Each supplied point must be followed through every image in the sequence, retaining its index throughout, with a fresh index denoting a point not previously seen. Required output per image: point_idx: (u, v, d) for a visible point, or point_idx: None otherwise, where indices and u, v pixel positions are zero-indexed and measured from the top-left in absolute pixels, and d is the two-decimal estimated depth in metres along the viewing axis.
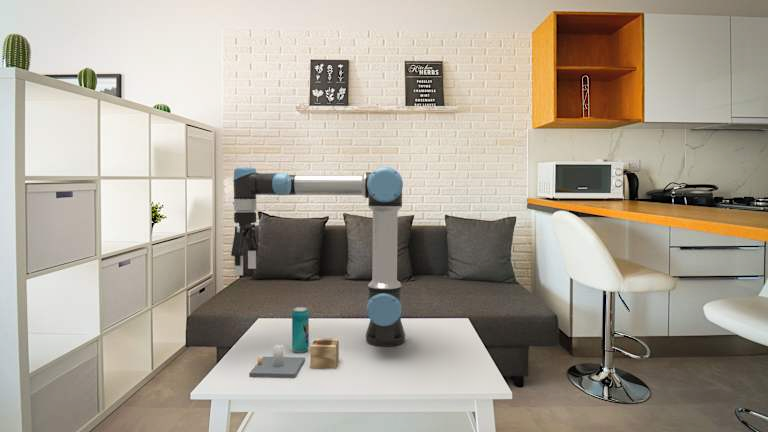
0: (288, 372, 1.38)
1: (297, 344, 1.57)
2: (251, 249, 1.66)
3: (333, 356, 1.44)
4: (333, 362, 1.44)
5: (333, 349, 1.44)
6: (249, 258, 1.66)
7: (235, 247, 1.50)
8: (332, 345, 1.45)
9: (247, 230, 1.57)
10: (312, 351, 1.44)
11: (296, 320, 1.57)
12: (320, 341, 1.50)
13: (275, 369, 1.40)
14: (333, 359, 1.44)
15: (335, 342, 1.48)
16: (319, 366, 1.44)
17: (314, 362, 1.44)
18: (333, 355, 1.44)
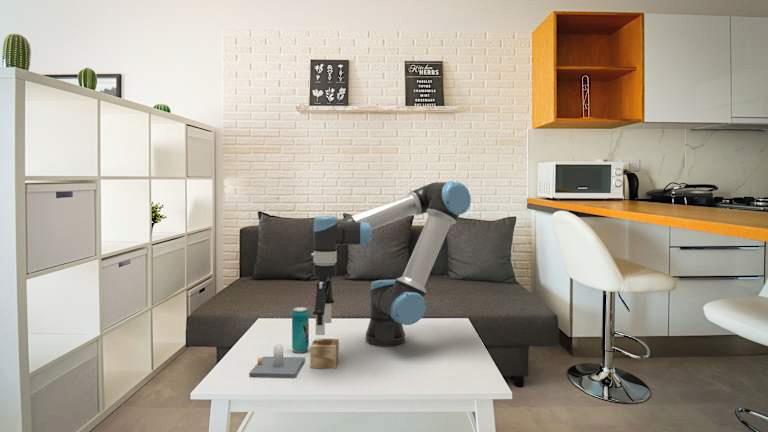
0: (288, 372, 1.38)
1: (297, 344, 1.57)
2: (326, 302, 1.54)
3: (333, 356, 1.44)
4: (333, 362, 1.44)
5: (333, 349, 1.44)
6: (325, 311, 1.54)
7: (318, 305, 1.38)
8: (332, 345, 1.45)
9: (327, 284, 1.45)
10: (312, 351, 1.44)
11: (296, 320, 1.57)
12: (320, 341, 1.50)
13: (275, 369, 1.40)
14: (333, 359, 1.44)
15: (335, 342, 1.48)
16: (319, 366, 1.44)
17: (314, 362, 1.44)
18: (333, 355, 1.44)
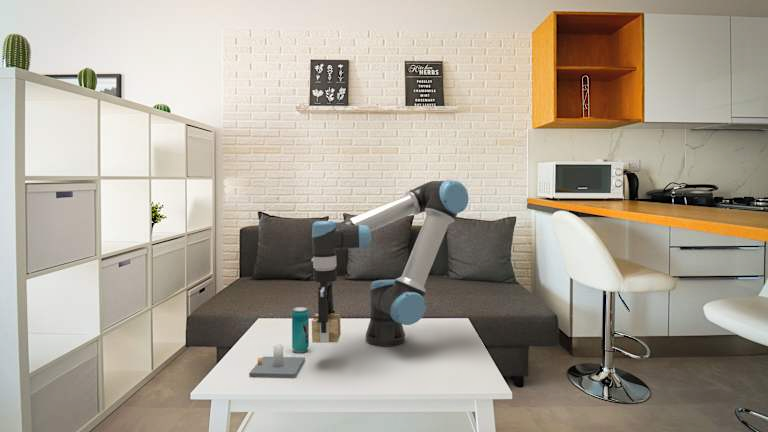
0: (288, 372, 1.38)
1: (297, 344, 1.57)
2: (327, 312, 1.52)
3: (335, 330, 1.44)
4: (335, 336, 1.44)
5: (334, 323, 1.44)
6: None
7: (321, 314, 1.40)
8: (333, 319, 1.45)
9: (328, 290, 1.45)
10: (314, 326, 1.44)
11: (296, 320, 1.57)
12: None
13: (275, 369, 1.40)
14: (335, 333, 1.44)
15: (337, 316, 1.48)
16: None
17: (316, 337, 1.44)
18: (335, 329, 1.44)
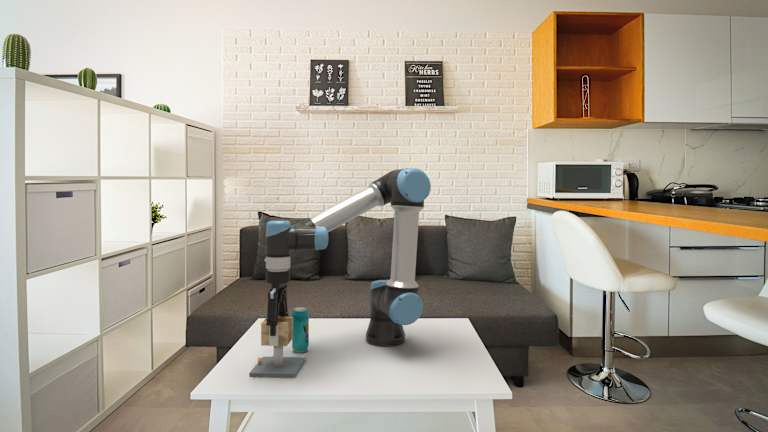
0: (288, 372, 1.38)
1: (297, 344, 1.57)
2: (280, 314, 1.48)
3: (285, 333, 1.39)
4: (284, 339, 1.39)
5: (285, 326, 1.39)
6: None
7: (270, 317, 1.35)
8: (284, 322, 1.40)
9: (280, 291, 1.40)
10: (263, 328, 1.39)
11: (296, 320, 1.57)
12: None
13: (275, 369, 1.40)
14: (285, 336, 1.39)
15: (288, 319, 1.43)
16: None
17: (265, 340, 1.39)
18: (285, 332, 1.39)
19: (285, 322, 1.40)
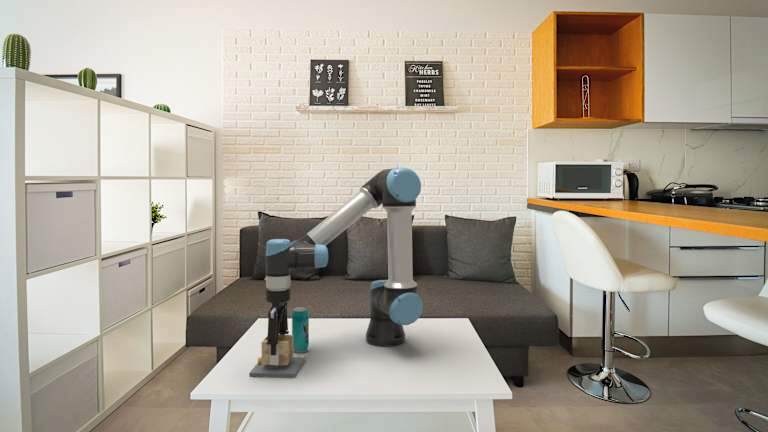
0: (288, 372, 1.38)
1: (297, 344, 1.57)
2: (281, 332, 1.48)
3: (285, 352, 1.39)
4: (285, 358, 1.39)
5: (285, 345, 1.39)
6: None
7: (271, 336, 1.36)
8: (284, 341, 1.40)
9: (280, 310, 1.41)
10: (263, 347, 1.39)
11: (296, 320, 1.57)
12: None
13: (275, 369, 1.40)
14: (285, 355, 1.39)
15: (289, 338, 1.44)
16: None
17: (266, 359, 1.40)
18: (285, 351, 1.39)
19: (285, 341, 1.40)
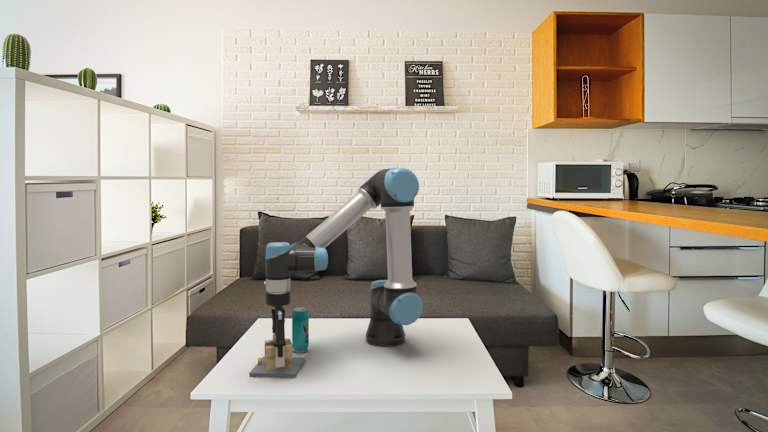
0: (288, 372, 1.38)
1: (297, 344, 1.57)
2: (275, 332, 1.49)
3: (290, 355, 1.41)
4: (290, 362, 1.41)
5: (290, 348, 1.41)
6: None
7: (280, 338, 1.35)
8: (288, 344, 1.42)
9: None
10: (268, 353, 1.39)
11: (296, 320, 1.57)
12: (271, 342, 1.45)
13: None
14: (290, 359, 1.41)
15: (289, 341, 1.45)
16: (275, 368, 1.39)
17: (270, 365, 1.39)
18: (290, 354, 1.41)
19: (289, 344, 1.42)
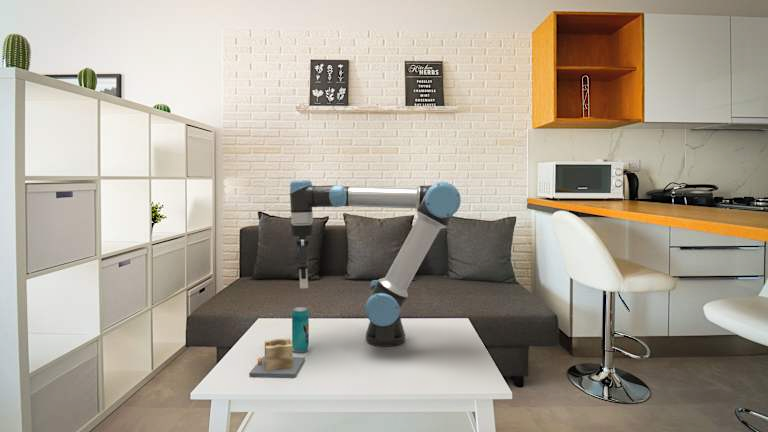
0: (288, 372, 1.38)
1: (297, 344, 1.57)
2: None
3: (290, 355, 1.41)
4: (290, 362, 1.41)
5: (290, 348, 1.41)
6: None
7: (302, 260, 1.50)
8: (288, 344, 1.42)
9: (306, 242, 1.58)
10: (268, 353, 1.39)
11: (296, 320, 1.57)
12: (271, 342, 1.45)
13: None
14: (290, 359, 1.41)
15: (289, 341, 1.45)
16: (275, 368, 1.39)
17: (270, 365, 1.39)
18: (290, 354, 1.41)
19: (289, 344, 1.42)
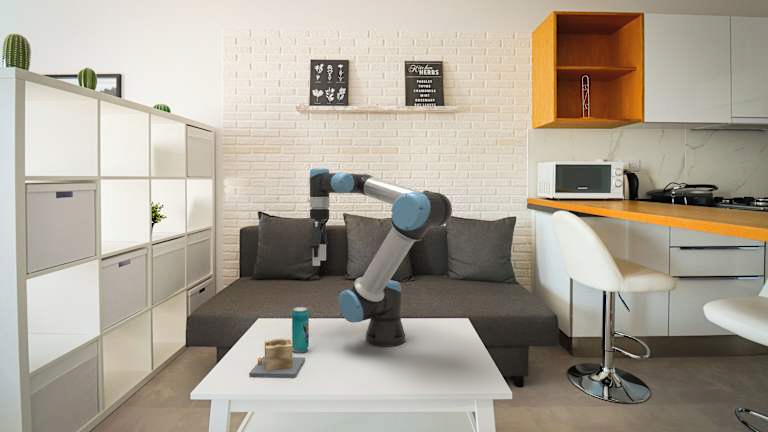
0: (288, 372, 1.38)
1: (297, 344, 1.57)
2: (322, 243, 1.83)
3: (290, 355, 1.41)
4: (290, 362, 1.41)
5: (290, 348, 1.41)
6: (320, 251, 1.82)
7: (314, 240, 1.66)
8: (288, 344, 1.42)
9: (322, 225, 1.73)
10: (268, 353, 1.39)
11: (296, 320, 1.57)
12: (271, 342, 1.45)
13: None
14: (290, 359, 1.41)
15: (289, 341, 1.45)
16: (275, 368, 1.39)
17: (270, 365, 1.39)
18: (290, 354, 1.41)
19: (289, 344, 1.42)
